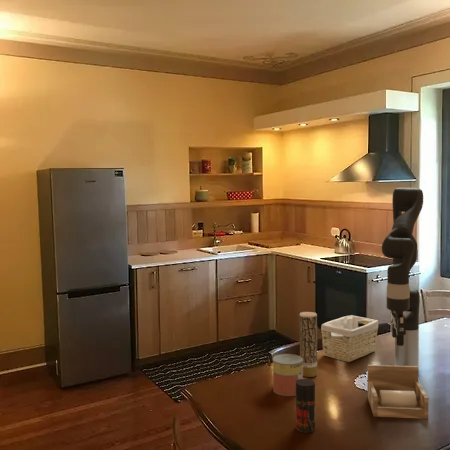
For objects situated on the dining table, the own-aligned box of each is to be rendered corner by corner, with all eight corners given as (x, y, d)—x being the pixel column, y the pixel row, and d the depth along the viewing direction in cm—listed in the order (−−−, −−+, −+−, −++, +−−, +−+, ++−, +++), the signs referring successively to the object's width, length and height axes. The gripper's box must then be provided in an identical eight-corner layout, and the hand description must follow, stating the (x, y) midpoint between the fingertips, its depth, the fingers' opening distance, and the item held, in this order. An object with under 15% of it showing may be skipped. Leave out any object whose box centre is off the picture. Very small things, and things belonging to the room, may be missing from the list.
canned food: (299, 397, 186) (299, 365, 185) (269, 394, 190) (269, 362, 189) (306, 386, 197) (305, 355, 196) (277, 382, 201) (276, 352, 200)
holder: (367, 397, 185) (367, 364, 184) (417, 398, 183) (417, 366, 182) (373, 416, 170) (373, 381, 169) (428, 418, 168) (428, 382, 167)
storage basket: (349, 344, 246) (349, 313, 245) (380, 351, 235) (380, 319, 233) (319, 356, 230) (319, 323, 229) (350, 365, 218) (350, 331, 217)
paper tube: (317, 378, 204) (316, 316, 202) (299, 377, 205) (299, 315, 203) (317, 372, 211) (317, 312, 209) (300, 371, 212) (300, 311, 210)
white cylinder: (378, 395, 179) (380, 386, 175) (412, 396, 177) (414, 387, 174) (380, 410, 175) (382, 401, 171) (414, 411, 173) (417, 402, 170)
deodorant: (294, 424, 166) (293, 379, 164) (312, 423, 166) (312, 378, 165) (298, 433, 160) (298, 386, 159) (317, 432, 160) (317, 385, 159)
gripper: (413, 300, 169) (413, 348, 171) (405, 290, 183) (404, 334, 185) (390, 300, 170) (390, 348, 172) (383, 290, 184) (383, 334, 186)
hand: (397, 341), depth 179 cm, fingers open, 8 cm apart
